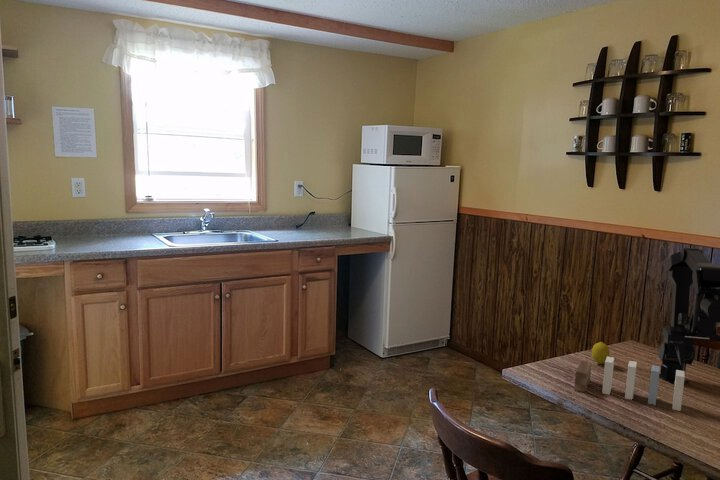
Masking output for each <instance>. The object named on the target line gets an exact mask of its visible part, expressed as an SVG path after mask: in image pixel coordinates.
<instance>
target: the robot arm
mask: <svg viewBox="0 0 720 480" xmlns="http://www.w3.org/2000/svg"><path fill="white" fill-rule="evenodd" d="M666 270H667V276H668V278H669V280H670V281H671V283H672V286H673V287H672V301H671V319H670V320H671V321H670V325H665V326H663V328H662V333H661V335H662V336H663V342H662V343H661V345H660V346H659V348H658V350H657V351H658V352H657V353H658V358H659V360H660V361H661V365H660V371H659V378H661V379H663V380H665V381H666V382H669V383H671V384H675V377H676V370H681V371H685V372H686V371H687V370H686V369H687V365H690V366H691V365H692V364H693V362H694V358H695V355H696V352H697V351H696V350H695V346H694V340H699V341H700V340H701V341H711V342H712V341H713V342H720V333H717V332H718V324H719V323H720V264H716V263H715V264H714V263H712V261H710V260H709V259H708V258H707V257H706V255H705V254H704V253H703V250H702V249H700V248H698V247H697V248H696V247H695V248H694V247H684V248H681V249H680V251H678V252H675V253H673V254H671V255H670V256H669V258H668V260H667V261H666ZM692 285H693V286H694V291H695V297H694V304H693V305H694V306H693V311H691V315H690V316H689V313H690V312H689V311H690V297H691V296H690V295H691V286H692ZM718 353H719V354H718V358H717V365H716V366H717V367H716V368H717V369H719V370H720V351H719V352H718ZM689 381H690V380H689V379H688V378H686V377H685V378H684V383H688V382H689Z"/></svg>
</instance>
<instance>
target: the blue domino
mask: <svg viewBox="0 0 720 480" xmlns="http://www.w3.org/2000/svg"><path fill="white" fill-rule="evenodd" d="M660 372H661V365H660V366H659V365H655V364H652V365H651V370H650V379H649V380H650V381H649V388H648V399H647V404H648V405H652V404H653V406H656V405H657V398H658V388H659V381H660V380H659V379H660V377H659V374H660Z"/></svg>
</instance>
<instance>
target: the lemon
mask: <svg viewBox="0 0 720 480" xmlns="http://www.w3.org/2000/svg"><path fill="white" fill-rule="evenodd" d="M591 356H592V359H593V361H595V362H596V363H597V364H598V365H602V364H605V360H606V358H607V356H608V357H610V348H609V347H608V345H607V344H606V343H604V342H603V341H600V342H596V343H595V344H594V345H593V346H592V349H591Z"/></svg>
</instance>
